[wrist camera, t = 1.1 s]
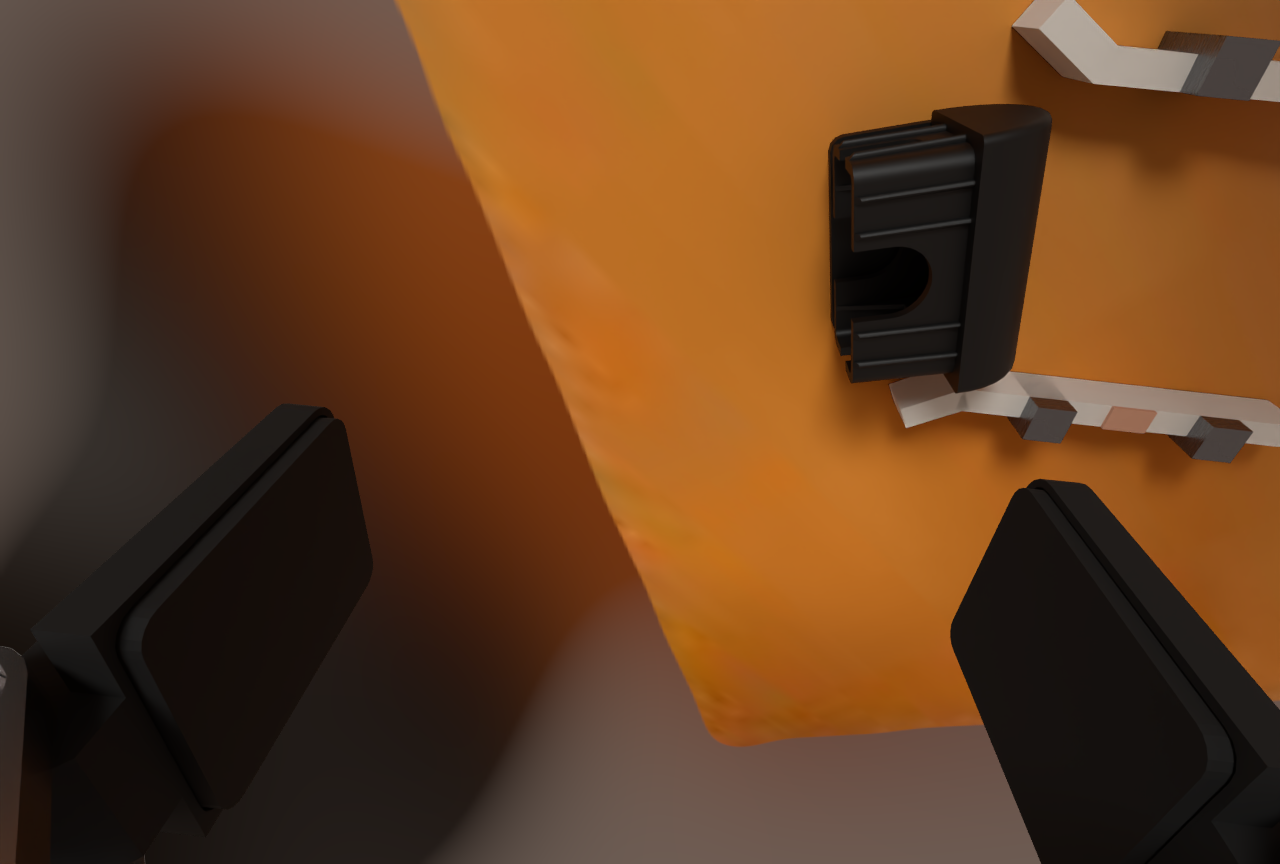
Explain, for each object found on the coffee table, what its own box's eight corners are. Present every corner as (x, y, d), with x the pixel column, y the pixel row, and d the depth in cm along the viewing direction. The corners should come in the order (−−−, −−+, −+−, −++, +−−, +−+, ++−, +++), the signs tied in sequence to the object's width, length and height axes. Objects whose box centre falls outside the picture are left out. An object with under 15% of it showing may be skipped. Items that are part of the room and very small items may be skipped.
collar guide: (1022, -7, 24) (1065, -7, 21) (1533, 41, 24) (1647, 47, 21) (883, 400, 34) (898, 437, 32) (1237, 441, 34) (1286, 482, 31)
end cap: (980, 319, 32) (1037, 388, 26) (830, 336, 33) (855, 406, 27) (1007, 93, 26) (1087, 119, 21) (827, 124, 27) (857, 156, 22)
